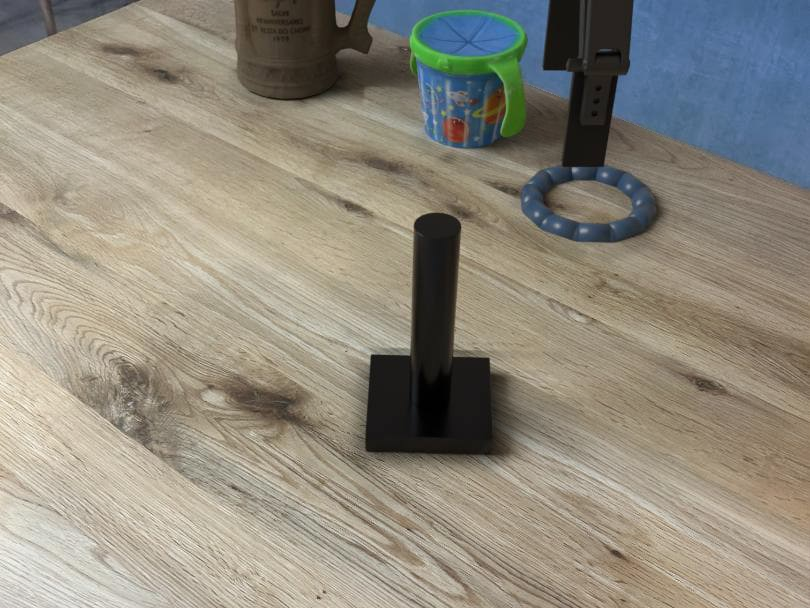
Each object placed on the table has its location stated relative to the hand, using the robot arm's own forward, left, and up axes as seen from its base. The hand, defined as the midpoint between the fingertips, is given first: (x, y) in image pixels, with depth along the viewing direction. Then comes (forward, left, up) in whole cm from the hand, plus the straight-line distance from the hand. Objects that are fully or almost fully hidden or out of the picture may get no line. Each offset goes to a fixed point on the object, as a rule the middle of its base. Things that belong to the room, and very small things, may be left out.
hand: (570, 113), depth 73 cm
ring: (-5, -14, -16) cm, 22 cm away
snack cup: (+6, -27, -17) cm, 33 cm away
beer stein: (+22, -39, -17) cm, 48 cm away
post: (+9, +13, -17) cm, 23 cm away
